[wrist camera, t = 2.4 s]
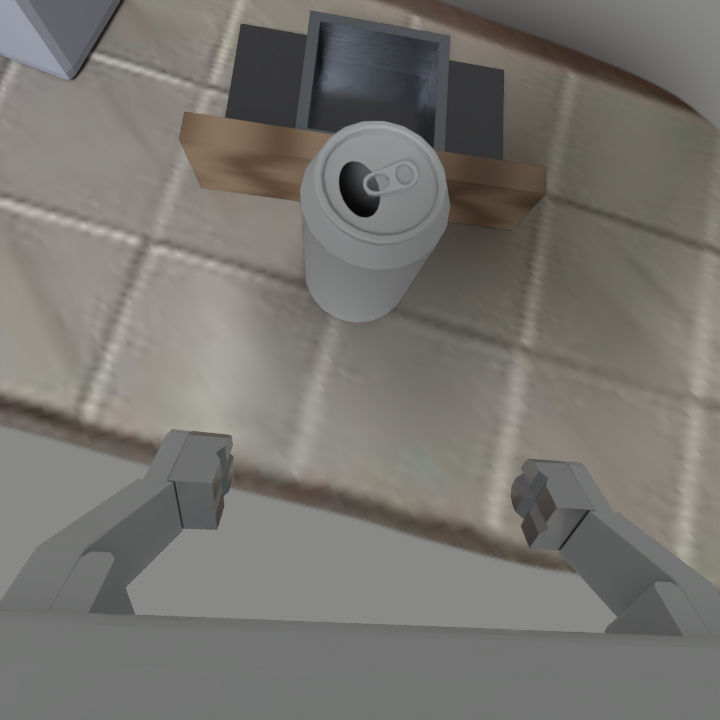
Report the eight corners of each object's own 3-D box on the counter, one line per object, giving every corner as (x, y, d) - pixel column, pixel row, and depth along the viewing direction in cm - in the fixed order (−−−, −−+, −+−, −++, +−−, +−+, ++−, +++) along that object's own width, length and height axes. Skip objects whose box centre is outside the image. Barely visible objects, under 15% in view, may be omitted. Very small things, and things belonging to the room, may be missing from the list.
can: (294, 240, 30) (281, 116, 18) (389, 222, 31) (435, 93, 19) (318, 336, 29) (322, 269, 17) (417, 313, 30) (483, 236, 18)
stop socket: (501, 74, 35) (521, 36, 31) (499, 200, 32) (520, 173, 29) (241, 28, 33) (233, -18, 29) (220, 159, 30) (208, 126, 27)
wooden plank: (511, 207, 32) (546, 167, 27) (511, 230, 32) (546, 193, 27) (205, 163, 30) (184, 111, 25) (201, 187, 30) (179, 139, 25)
